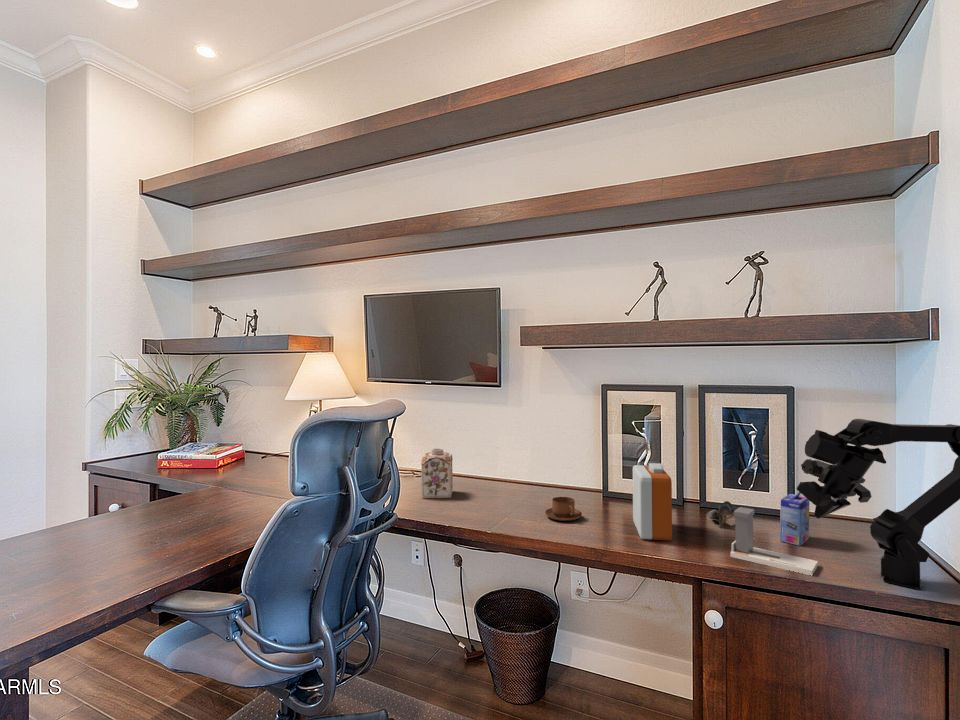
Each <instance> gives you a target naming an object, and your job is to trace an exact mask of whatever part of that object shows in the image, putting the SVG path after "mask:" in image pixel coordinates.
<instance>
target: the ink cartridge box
mask: <svg viewBox="0 0 960 720" xmlns="http://www.w3.org/2000/svg"><path fill="white" fill-rule="evenodd" d="M779 520H780V521H779V522H780V523H779V526H780V527H779V529H780V530H779V541H780V542H783V543H786V544H790V545H793V546H798V547H801V546H802V545H803V544H804V543H805V542H807V541H808V540H809V538H810V537H809V536H810V535H809V534H810V501H809V500H808V499H807V498H806V497H805V496H804V495H802V494H801V493H800V492H799V491H798V493H796V494H795V493H794V494H793V493H789V494H787V495H786V496H784V497H782V498H781V499H780V517H779Z"/></svg>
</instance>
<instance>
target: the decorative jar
mask: <svg viewBox="0 0 960 720" xmlns="http://www.w3.org/2000/svg"><path fill="white" fill-rule="evenodd" d="M420 463H421V466H420V467H421V469H420V472H421V474H420V475H421V477H420V479H421V483H420V485H421V489H420V490H421V499H451V498H452V495H453V473H454V472H453V454H452V453H449V452H444V448H440V447H437V448H432V449H431V452H426V453H423V454H422V456H421V462H420Z"/></svg>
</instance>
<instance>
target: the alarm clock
mask: <svg viewBox="0 0 960 720" xmlns="http://www.w3.org/2000/svg"><path fill="white" fill-rule="evenodd" d="M672 484H673V483H672V478H671V476H670V475H669V474H668V473H667V472H666V470H664V465H663V463H657V462H656V463H654V462H651V463H650V462H649V463H648V465H643V464H642V465H641V464H639V465H637V464H635V465H633V466H632V521H633V524H634V525H635V528H636V530H637V532H638V535H639V537H640V539H641V540H651V541H652V540H653V541H672V540H673V539H672V538H673V502H672V501H673V494H672V493H673V492H672V491H673V490H672V489H673V488H672V486H673V485H672Z"/></svg>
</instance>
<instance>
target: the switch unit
mask: <svg viewBox="0 0 960 720" xmlns="http://www.w3.org/2000/svg"><path fill="white" fill-rule="evenodd" d="M730 545H731V547H730V549H731V551H730V558H735V559H740V560H742V561H748V562H752V563H756V564H760V565H765V566H769V567H772V568H778V569H780V570H781V569H782V570H785V571H789V570H790V572H793V571H794V572H793V573H798V572H799V573H798V574H802V573H803V574H802V575H807V576H810V575H811V577H812V576H813V575H814V574H815V572H816V570H817V568H818V566H819V563H818V560H814V559H809V558H805V557H800V556H797V555H792V554H791V555H790V554H787V553H783V552H778V551H777V552H776V551H772V550H768V549H764V548H759V547H754V546H753V549H752V550H751V551H750V552H749V553H746V552H741V551H737V550H736V539H735V540H734V541H733V542H732V543H731V544H730ZM813 573H814V574H813Z"/></svg>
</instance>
